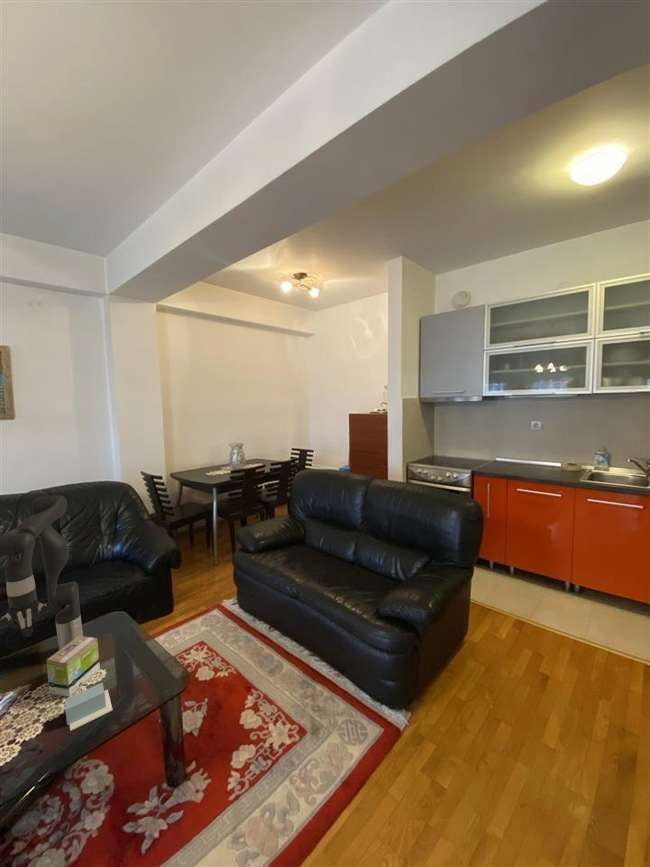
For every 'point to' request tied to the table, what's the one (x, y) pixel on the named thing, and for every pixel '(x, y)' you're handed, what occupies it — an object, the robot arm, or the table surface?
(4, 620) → the robot arm
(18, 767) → the table surface
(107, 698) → the felt mat
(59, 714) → the table surface
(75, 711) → the pale blue-gray rectangular block
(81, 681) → the tea box
